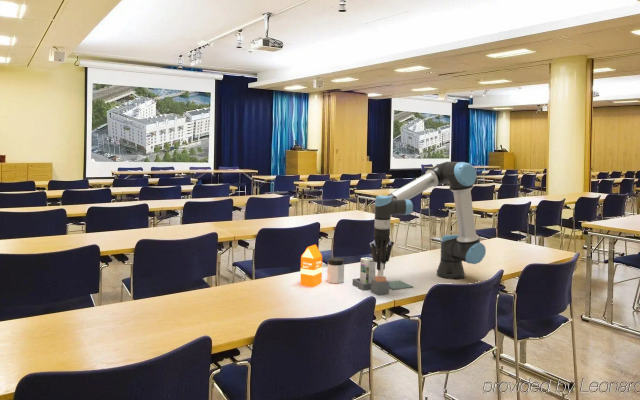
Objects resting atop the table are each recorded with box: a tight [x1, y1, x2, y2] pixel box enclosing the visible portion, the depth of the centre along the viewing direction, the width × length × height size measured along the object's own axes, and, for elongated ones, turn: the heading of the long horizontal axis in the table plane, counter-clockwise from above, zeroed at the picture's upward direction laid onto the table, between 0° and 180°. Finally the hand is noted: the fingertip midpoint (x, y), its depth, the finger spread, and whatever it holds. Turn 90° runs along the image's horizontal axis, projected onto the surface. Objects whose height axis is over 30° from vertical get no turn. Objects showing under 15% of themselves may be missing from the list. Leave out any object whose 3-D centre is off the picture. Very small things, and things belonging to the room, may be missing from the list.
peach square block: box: [375, 275, 387, 282], centre depth 234 cm, size 4×4×4 cm
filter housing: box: [352, 277, 390, 296], centre depth 240 cm, size 11×21×6 cm, turn 25°
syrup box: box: [359, 256, 377, 284], centre depth 244 cm, size 6×6×14 cm
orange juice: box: [300, 244, 323, 288], centre depth 246 cm, size 8×9×20 cm
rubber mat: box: [389, 279, 414, 291], centre depth 248 cm, size 12×12×1 cm
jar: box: [326, 256, 345, 284], centre depth 252 cm, size 9×8×12 cm
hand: (380, 276), depth 233 cm, fingers closed
